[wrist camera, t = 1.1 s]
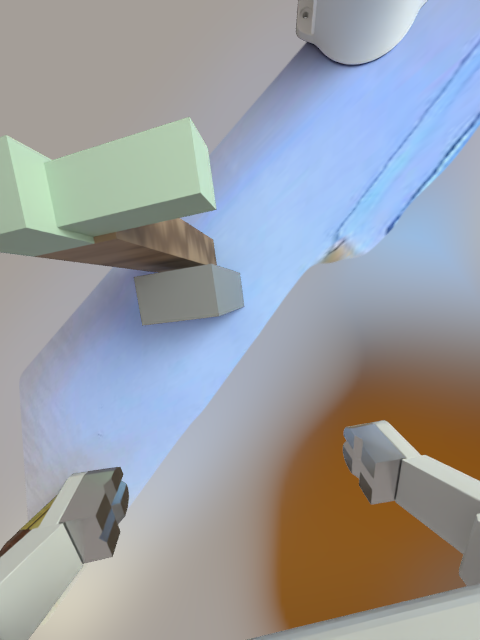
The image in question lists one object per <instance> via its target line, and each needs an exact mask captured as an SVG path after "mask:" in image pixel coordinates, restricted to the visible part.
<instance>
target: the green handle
mask: <svg viewBox="0 0 480 640" xmlns="http://www.w3.org/2000/svg"><path fill="white" fill-rule="evenodd" d="M213 210H216V204H215V197H214V190H213V183H212V176H211V168H210V161H209V154H208V148H207V146H206V144H205V143H204V141H203V139H202V137H201V136H200V134H199V132H198V131H197V129H196V127H195V125H194V124H193V122H192V120H191V119H190V117H188V118H184V119H181V120H178V121H175V122H172V123H168V124H165V125H162V126H159V127H156V128H153V129H149V130H146V131H143V132H140V133H137V134H134V135H130V136H127V137H124V138H121V139H118V140H115V141H111V142H108V143H105V144H102V145H99V146H96V147H92V148H89V149H86V150H83V151H80V152H77V153H73V154H70V155H67V156H64V157H61V158H58V159H54V160H51V159H49V158H48V157H46V156H44V155H42V154H40V153H38V152H36V151H35V150H33V149H31V148H29V147H27V146H25V145H24V144H22V143H20V142H18V141H16V140H14V139H13V138H10V137H9V136H7V135H5V136H2V137H0V252H2V253H10V254H17V255H26V256H33V257H34V256H39V255H43V254H48V253H53V252H57V251H62V250H67V249H71V248H76V247H81V246H85V245H90V244H95V243H94V238H93V237H95V236H100V235H104V234H109V233H113V232H118V231H122V230H127V229H131V228H136V227H140V226H145V225H149V224H154V223H158V222H163V221H167V220H172V219H176V218H181V217H186V216H190V215H195V214H199V213H204V212H208V211H213Z"/></svg>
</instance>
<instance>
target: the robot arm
mask: <svg viewBox="0 0 480 640" xmlns="http://www.w3.org/2000/svg"><path fill="white" fill-rule="evenodd" d="M427 1H428V0H298V10H297V23H296V34H297V36H298V37H299V38H300V39H302V40H304V41H307V42H310V43H313V44H315V45H316V46H317V47H318V48H319V49H320V50H321V51H322V52H323V53H324V54H325V55H326V56H327V57H329V58H330V59H332V60H334V61H336V62H339V63H343V64H362V63H366V62H369V61H372V60H375V59H377V58H379V57H381V56H382V55H384V54H386V53H387V52H388V51H390V50H391V49H392V48H393V47H395V46H396V45H397V44H398V43H399V42H400V41H401V40H402V38H403V37H404V36H405V35H406V33H407V32H408V30H409V29H410V27H411V25H412V24H413V22H414V20H415V18H416V16H417V14H418V12H419V10H420V8H421V7H422V6H423V5H424V4H425V3H426V2H427ZM304 17H307V18H304ZM344 437H345V438H346V440H347V441H346V442H345V443H344V445H343V454H344V458H345V461H346V464H347V466H348V468H349V470H350V471H351V473H352V474H354V475H355V476H357V477H358V478H359V486H360V488H361V489H362V491H363V493H364V494H365V496H366V497H367V499H368V501H369V502H370V504H377V503H382V502H389V501H394V500H396V501H395V502H396V503H398V504H399V505H400V506H401V507H403V508H404V509H405V510H407V511H408V512H409V513H410V514H412V515H413V516H414V517H416V518H417V519H418V520H420V521H421V522H422V523H423V524H425V525H426V526H427V527H429V528H430V529H431V530H433V531H434V532H435V533H437V534H438V535H439V536H440V537H442V538H443V539H444V540H445V541H447V542H448V543H449V544H451V545H452V546H453V547H455V548H456V549H457V550H458V551H460V552H461V553H463V554H464V555H463V558H462V562H461V565H460V568H459V576H460V577H461V578H462V580H463V581H464V582H465V584H466V585H467V587H463V588H459V589H455V590H450V591H446V592H442V593H438V594H434V595H430V596H426V597H422V598H417V599H413V600H409V601H405V602H401V603H397V604H393V605H388V606H384V607H380V608H376V609H372V610H368V611H363V612H359V613H355V614H351V615H347V616H343V617H338V618H335V619H331V620H326V621H322V622H318V623H314V624H310V625H305V626H301V627H297V628H293V629H289V630H285V631H281V632H276V633H273V634H268V635H264V636H260V637H256V638H251V639H247V640H480V481H478V480H476V479H474V478H472V477H470V476H468V475H466V474H464V473H462V472H460V471H457V470H455V469H453V468H451V467H449V466H447V465H445V464H443V463H441V462H439V461H437V460H435V459H433V458H430V457H428V456H426V455H423V456H421V455H420V454H419V453H418V452H417V451H416V450H415V449H414V448H413V447H412V446H411V445H410V444H409V443H408V442H407V441H406V440H405V439H404V438H403V437H402V436H401V435H400V434H399V433H398V432H397V431H396V430H395V429H394V428H393V427H392V426H391V425H390V424H389V423H388V422H386V421H384V420H383V421H378V422H372V423H367V424H361V425H356V426H350V427H346V428H345V430H344ZM122 477H123V472H122V470H121V467H114V468H107V469H100V470H93V471H88V472H82V473H75V474H72V475H71V476H70V477H68V479H67V480H66V482H65V484H64V485H63V487H62V489H61V490H60V492H59V494H58V495H57V497H56V499H55V500H54V502H53V504H52V505H51V507H50V509H49V510H48V512H47V514H46V515H45V517H44V519H43V520H42V522H41V524H40V525H39V527H38V528H34V529H32V530H31V531H30V532H29V533H27V534H26V535H25V536H24V537H23V538H22V539H21V540H20V541H18V542H17V543H16V544H15V545H14V546H13V547H12V548H11V549H9V550H8V551H7V552H6V553H5V554H4V555H3V556H1V557H0V640H28V639H29V638H30V637H31V635H32V634H33V633H34V631H35V630H36V629H37V627H38V626H39V625H40V623H41V622H42V621H43V619H44V618H45V617H46V615H47V614H48V612H49V611H50V610H51V608H52V607H53V606H54V604H55V603H56V602H57V600H58V599H59V598H60V596H61V595H62V594H63V592H64V591H65V590H66V588H67V587H68V586H69V584H70V583H71V582H72V580H73V579H74V577H75V576H76V575H77V573H78V572H79V571H80V569H81V568H82V567H83V564H84V563H88V562H92V561H97V560H101V559H105V558H109V557H113V554H114V551H115V547H116V544H117V541H118V538H119V534H120V529H119V527H118V524H119V523H120V521H121V520H122V519H123V518H124V517H125V515H126V511H127V508H128V500H129V492H128V487H127V484H126V483H124V482H123V481H121V480H122Z"/></svg>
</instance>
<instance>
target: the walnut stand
mask: <svg viewBox="0 0 480 640" xmlns="http://www.w3.org/2000/svg"><path fill="white" fill-rule="evenodd" d="M93 238H94V243H95V244H90V245H85V246H81V247H76V248H71V249H67V250H62V251H57V252H53V253H48V254H43V255H39V256H34V257H41V258H49V259H56V260H64V261H72V262H80V263H89V264H96V265H104V266H111V267H119V268H127V269H135V270H143V271H151V272H158V273H160V272H166V271H172V270H178V269H183V268H189V267H195V266H201V265H207V264H214V265H217V263H216V257H215V250H214V243H213V239H211V238H210V237H208V236H206V235H205V234H203V233H202V232H200V231H199V230H197V229H196V228H194V227H193V226H191V225H189V224H188V223H186V222H185V221H183V220H182V219H180V218H176V219H172V220H167V221H163V222H158V223H154V224H149V225H145V226H140V227H136V228H131V229H127V230H122V231H118V232H113V233H109V234H104V235H100V236H95V237H93Z"/></svg>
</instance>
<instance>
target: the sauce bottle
mask: <svg viewBox="0 0 480 640" xmlns="http://www.w3.org/2000/svg"><path fill="white" fill-rule="evenodd" d="M56 497H57V496H56ZM56 497H55V498H54V499H52V500H51V501H50V502H49V503H48V504H47V505H46V506H45V507H44V508H43V509H42V510H41V511H40V512H38V513H37V514H36V515H35V516H34V517H33V518H32V519H31V520H30V521H29V522H28V523H27V524H26V525H24V526H23V527H22V528H21V529H20V530H19V531H18V532H17V533H16V534H15V535H14V536H13V537H12V538H11V539H10V540H9V541H8V542H7V543H6V544H5V545H4V546H3V548H2V549H1V551H0V557H1V556H3V555H4V554H5V553H6V552H7V551H8V550H9V549H11V548H12V547H13V546H14V545H15V544H16V543H17V542H18V541H20V540H21V539H22V538H23V537H24V536H25V535H26V534H27V533H29V532H30V531H31V530H32V529H34V528H38V527H39V525H40V524H41V522H42V520H43V519H44V517H45V515H46V514H47V512H48V510H49V509H50V507H51V505H52V504H53V502H54V500H55V499H56Z"/></svg>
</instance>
